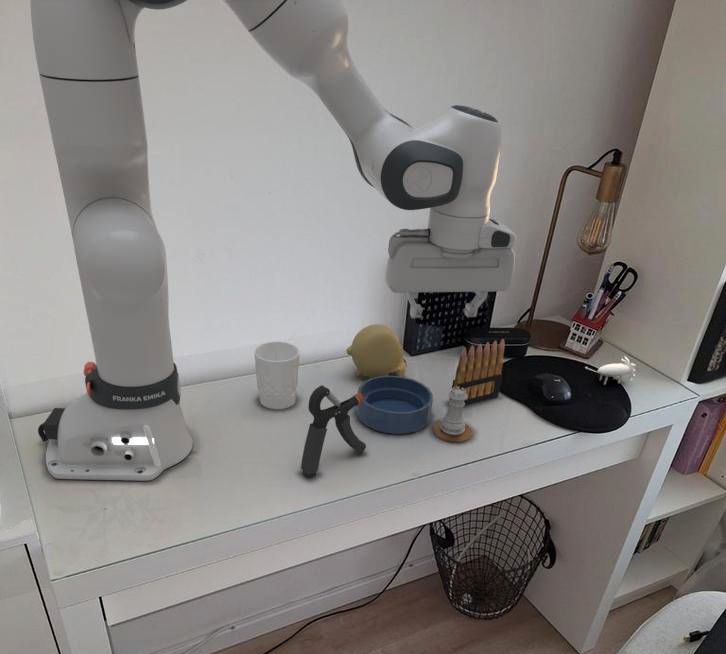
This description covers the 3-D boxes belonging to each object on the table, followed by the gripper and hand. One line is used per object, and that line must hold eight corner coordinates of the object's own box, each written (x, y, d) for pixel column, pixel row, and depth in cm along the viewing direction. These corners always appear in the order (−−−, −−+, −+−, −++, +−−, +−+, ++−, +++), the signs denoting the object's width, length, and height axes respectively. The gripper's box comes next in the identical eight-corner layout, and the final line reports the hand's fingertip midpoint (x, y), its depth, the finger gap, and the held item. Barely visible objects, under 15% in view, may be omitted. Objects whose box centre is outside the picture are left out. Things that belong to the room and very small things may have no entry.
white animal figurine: (623, 374, 144) (630, 353, 141) (638, 386, 140) (645, 365, 137) (573, 378, 141) (579, 357, 138) (586, 390, 137) (593, 369, 134)
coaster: (440, 444, 118) (440, 442, 118) (427, 423, 124) (427, 421, 123) (477, 441, 120) (478, 439, 120) (463, 420, 125) (464, 418, 125)
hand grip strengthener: (367, 453, 115) (374, 373, 106) (308, 480, 108) (309, 397, 99) (358, 447, 116) (364, 368, 107) (299, 473, 109) (300, 391, 100)
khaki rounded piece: (367, 402, 135) (408, 380, 128) (331, 352, 132) (371, 327, 125) (386, 379, 142) (425, 358, 136) (352, 331, 139) (391, 307, 132)
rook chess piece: (463, 438, 119) (470, 398, 115) (438, 434, 120) (444, 394, 115) (465, 425, 123) (472, 386, 118) (441, 421, 124) (447, 382, 119)
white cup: (248, 404, 125) (245, 355, 119) (268, 386, 130) (267, 337, 124) (286, 415, 122) (286, 365, 116) (306, 396, 128) (306, 347, 122)
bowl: (366, 438, 118) (368, 415, 116) (349, 399, 129) (350, 377, 126) (439, 432, 121) (443, 410, 119) (416, 394, 132) (419, 373, 129)
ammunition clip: (492, 392, 134) (504, 336, 127) (498, 397, 133) (510, 340, 126) (448, 403, 130) (457, 345, 122) (453, 408, 128) (463, 350, 121)
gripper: (396, 235, 98) (386, 326, 106) (526, 236, 103) (507, 323, 111) (384, 222, 103) (376, 309, 111) (510, 223, 108) (492, 307, 116)
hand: (443, 316), depth 111 cm, fingers open, 8 cm apart
